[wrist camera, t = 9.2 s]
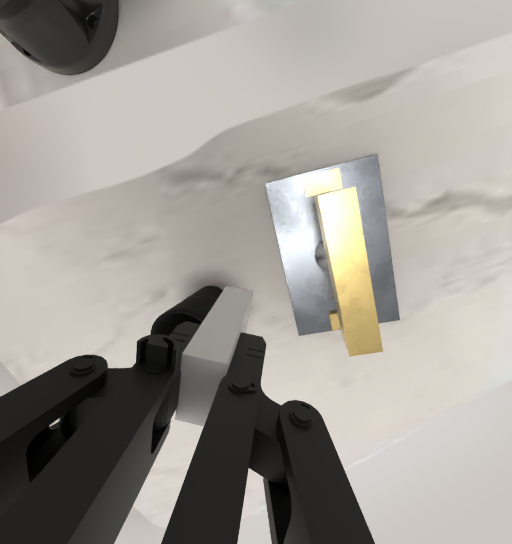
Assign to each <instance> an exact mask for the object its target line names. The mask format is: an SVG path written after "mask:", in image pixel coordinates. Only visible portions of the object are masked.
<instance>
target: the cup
mask: <svg viewBox="0 0 512 544" xmlns="http://www.w3.org/2000/svg"><path fill="white" fill-rule="evenodd" d="M222 292H223V290H222V289H220V288H218V287H215V286H207V287H204V288H202V289H200V290H199V291H197V292H196V293H194V294H193V295H191V296H190V297H188V298H186V299H185V300H183V301H182V302H180V303H179V304H177V305H176V306H174V307H173V308H171V309H169V310H168V311H166V312H165V313H163V314H162V315H161V316H159V317H158V318H157V319H156V321H155V322H154V324H153V326H152V329H151V335H155V334H160V335H167V336H169V335H170V334H171V333H172V331H173V330H174V329H175V328H176V327H177V326H178V325H180V324H182V323H184V322H186V321H187V322H192V323H196V324H202V322H203V321H204V319H205V318H206V316H207V315H208V313H209V312H210V310H211V309H212V307H213V305H214V304H215V302H216V301H217V299H218V298H219V296H220V295H221V293H222Z"/></svg>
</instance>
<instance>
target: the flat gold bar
mask: <svg viewBox="0 0 512 544" xmlns="http://www.w3.org/2000/svg"><path fill="white" fill-rule="evenodd" d="M314 199H315V204H316V209H317V214H318V219H319V224H320V229H321V234H322V239H323V244H324V249H325V254H326V259H327V264H328V269H329V274H330V279H331V284H332V289H333V294H334V299H335V304H336V309H337V314H338V318H339V323H340V328H341V333H342V336H343V339H344V342H345V345H346V347H347V350H348V353H349V356H356V355H363V354H370V353H376V352H383V348H382V342H381V336H380V330H379V324H378V318H377V312H376V307H375V301H374V295H373V289H372V283H371V277H370V271H369V265H368V259H367V253H366V247H365V241H364V235H363V229H362V223H361V217H360V211H359V205H358V199H357V193H356V187H352V188H346V189H342V190H338V191H334V192H330V193H327V194H323V195H319V196H315V197H314Z"/></svg>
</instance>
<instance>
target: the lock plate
mask: <svg viewBox="0 0 512 544" xmlns="http://www.w3.org/2000/svg"><path fill="white" fill-rule="evenodd" d="M265 186H266V190H267V195H268V199H269V204H270V208H271V213H272V217H273V222H274V226H275V231H276V235H277V239H278V244H279V248H280V253H281V257H282V262H283V266H284V271H285V275H286V280H287V284H288V289H289V293H290V297H291V302H292V306H293V311H294V315H295V320H296V324H297V329H298V333H299V336H300V335H307V334H313V333H319V332H326V331H333V330H339V329H341V328H340V323H339V318H338V314H337V309H336V304H335V299H334V294H333V289H332V284H331V279H330V274H329V269H328V264H327V259H326V254H325V249H324V244H323V239H322V234H321V229H320V224H319V219H318V214H317V209H316V204H315V199H314V197H315V196H319V195H323V194H327V193H330V192H334V191H338V190H342V189H346V188H352V187H356V193H357V199H358V205H359V211H360V217H361V223H362V229H363V235H364V241H365V247H366V253H367V259H368V265H369V271H370V277H371V283H372V289H373V295H374V301H375V307H376V312H377V318H378V323H383V322H390V321H396V320H400V318H399V311H398V303H397V296H396V288H395V281H394V273H393V266H392V258H391V251H390V243H389V235H388V228H387V220H386V213H385V205H384V198H383V190H382V183H381V175H380V168H379V160H378V154H376V155H372V156H368V157H364V158H360V159H357V160H353V161H349V162H345V163H341V164H338V165H334V166H330V167H326V168H322V169H319V170H315V171H311V172H307V173H303V174H300V175H296V176H292V177H288V178H284V179H281V180H277V181H273V182H269V183H265Z"/></svg>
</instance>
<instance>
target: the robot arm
mask: <svg viewBox="0 0 512 544" xmlns="http://www.w3.org/2000/svg"><path fill="white" fill-rule="evenodd" d="M117 18H118V1H117V0H0V33H1V34H2V35H3V36H4V37H5V38H6V39H7V40H8V41H10V42H11V43H12V45H13V46H14V47H15V48H16V49H18V50H19V51H20V52H21V53H22V54H23V55H24V56H26V57H27V58H29V59H30V60H32V61H33V62H35V63H37V64H39V65H41V66H43V67H45V68H46V69H48V70H51V71H53V72H56V73H60V74H67V75H72V74H78V73H82V72H85V71H87V70H89V69H91V68H92V67H93V66H95V65H96V64H97V63H98V62H99V61H100V60H101V59H102V58H103V57H104V55H105V54H106V52H107V51H108V49H109V47H110V45H111V43H112V41H113V38H114V35H115V31H116V26H117ZM252 295H253V291H250V290H245V289H240V288H236V287H231V286H226V287H225V289H224V290H223V292H222V293H221V295H220V296H219V298H218V299H217V301H216V302H215V304H214V305H213V307H212V309H211V310H210V312H209V313H208V315H207V316H206V318H205V319H204V321H203V322H202V324H196V323H192V322H187V321H186V322H184V323H182V324H180V325H178V326H177V327H176V328H175V329H174V330H173V331H172V333H171V334H170V335H169V336H167V335H160V334H155V335H148V336H145V337H142V338H141V339H139V340H138V341H137V354H136V363H135V364H134V366H133V367H132V368H108V364H107V361H106V360H105V359H104V358H103V357H101V356H97V355H82V356H77V357H74V358H72V359H69V360H67V361H65V362H63V363H62V364H60V365H58V366H56V367H54V368H52V369H51V370H49V371H47V372H45V373H43V374H41V375H40V376H38V377H36V378H34V379H32V380H30V381H29V382H27V383H25V384H23V385H21V386H19V387H18V388H16V389H14V390H12V391H10V392H8V393H7V394H5V395H3V396H1V397H0V544H114V542H115V540H116V538H117V536H118V534H119V532H120V530H121V528H122V526H123V524H124V522H125V520H126V518H127V516H128V514H129V512H130V510H131V508H132V506H133V504H134V502H135V500H136V498H137V496H138V494H139V492H140V490H141V488H142V486H143V483H144V481H145V479H146V477H147V475H148V473H149V471H150V469H151V467H152V465H153V463H154V461H155V459H156V457H157V455H158V453H159V451H160V449H161V447H162V445H163V443H164V441H165V439H166V437H167V435H168V433H169V429H170V422H171V418H172V416H173V414H174V412H175V410H176V415H175V420H179V421H184V422H188V423H192V424H196V425H200V426H204V427H203V430H202V433H201V436H200V438H199V441H198V444H197V447H196V449H195V452H194V455H193V458H192V460H191V463H190V466H189V469H188V471H187V474H186V477H185V480H184V482H183V485H182V488H181V491H180V493H179V496H178V499H177V502H176V504H175V507H174V510H173V513H172V515H171V518H170V521H169V524H168V526H167V529H166V532H165V535H164V537H163V540H162V543H161V544H237V541H238V534H239V528H240V521H241V515H242V508H243V501H244V495H245V488H246V481H247V475H248V468H250V469H252V470H253V471H255V472H256V473H258V474H259V475H261V476H263V477H264V478H263V482H264V489H265V497H266V504H267V511H268V518H269V526H270V533H271V540H272V544H375V543H374V540H373V538H372V535H371V533H370V531H369V529H368V526H367V524H366V521H365V519H364V516H363V514H362V511H361V509H360V507H359V504H358V502H357V499H356V497H355V495H354V492H353V490H352V487H351V485H350V483H349V480H348V478H347V475H346V473H345V471H344V468H343V466H342V463H341V461H340V459H339V456H338V454H337V451H336V449H335V447H334V444H333V442H332V439H331V437H330V435H329V432H328V430H327V427H326V425H325V423H324V420H323V418H322V416H321V415H320V413H319V412H318V411H317V410H316V409H315V408H314V407H313V406H311V405H309V404H307V403H305V402H303V401H297V400H293V401H288V402H286V403H284V404H283V405H282V406H281V405H279V404H277V403H276V402H274V401H272V400H271V399H269V398H268V397H267V396H266V395H265V394H264V392H263V391H262V388H261V376H262V369H263V363H264V356H265V349H266V343H265V341H264V339H263V337H260V336H255V335H251V334H246V327H247V322H248V316H249V311H250V306H251V300H252ZM59 418H60V421H59V422H58V423H56V424H54V425H52V426H50V427H49V425H50V424H52V423H53V422H54V421H56V420H57V419H59Z"/></svg>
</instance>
